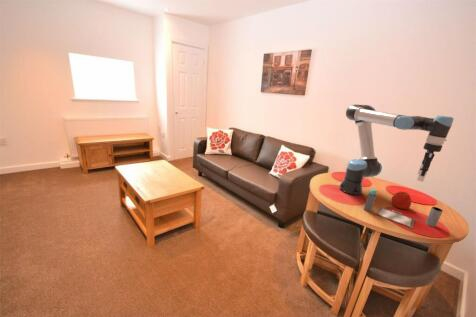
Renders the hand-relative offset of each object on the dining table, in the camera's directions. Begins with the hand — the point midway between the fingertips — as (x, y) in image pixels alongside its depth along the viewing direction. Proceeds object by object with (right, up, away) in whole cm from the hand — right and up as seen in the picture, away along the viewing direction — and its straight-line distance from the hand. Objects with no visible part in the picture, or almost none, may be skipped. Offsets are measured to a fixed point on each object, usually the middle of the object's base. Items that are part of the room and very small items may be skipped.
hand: (420, 177), depth 125 cm
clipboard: (-16, -23, -1) cm, 28 cm away
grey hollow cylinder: (+1, -27, -6) cm, 27 cm away
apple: (-3, -20, +12) cm, 24 cm away
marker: (-28, -20, +5) cm, 35 cm away
